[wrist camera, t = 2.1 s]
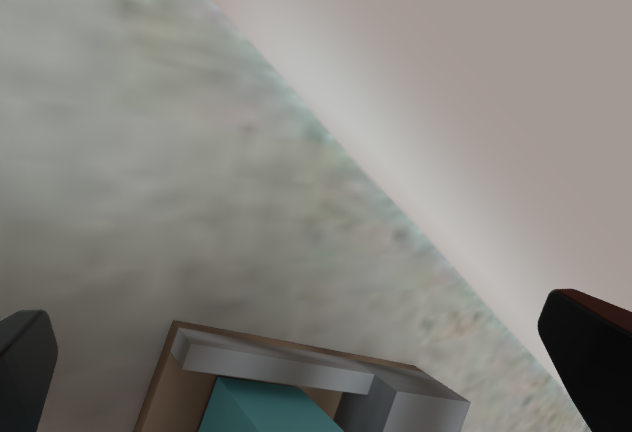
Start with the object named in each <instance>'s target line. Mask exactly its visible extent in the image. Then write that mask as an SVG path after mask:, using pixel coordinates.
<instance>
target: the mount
mask: <svg viewBox="0 0 632 432" xmlns="http://www.w3.org/2000/svg"><path fill="white" fill-rule="evenodd" d="M218 377H223V378H231V379H238V380H246V381H253V382H261V383H268V384H275V385H283V386H290V387H298V388H300V389H301V390H302V391H303V392H304V393H305V394H307V395H308V396H309V397H310V398H311V399H312V400H313V401H314V402H315V403H316V404H317V405H318V406H319V407H320V408H321V409H322V410H323V411H324V412H325V413H326V414H327V415H328V416H329V417H330V418H331V419H332V420H333V421H334V422H335V423H336V424H337V425H338V426H339V427H340V428H341V429H342V430H343V431H344V432H460V431H461V428H462V426H463V423H464V420H465V417H466V414H467V412H468V409H469V406H470V403H471V402H470V401H468V400H466V399H465V398H463V397H462V396H460V395H459V394H457V393H456V392H454V391H453V390H451V389H449V388H448V387H446V386H445V385H443V384H442V383H440V382H439V381H437V380H435V379H434V378H432V377H431V376H429V375H428V374H426V373H425V372H423V371H422V370H420V369H418V368H417V367H415V366H412V365H407V364H402V363H396V362H391V361H386V360H381V359H375V358H370V357H365V356H360V355H354V354H349V353H344V352H338V351H333V350H328V349H323V348H317V347H312V346H307V345H302V344H296V343H291V342H286V341H280V340H275V339H270V338H265V337H259V336H254V335H249V334H244V333H238V332H233V331H228V330H223V329H217V328H212V327H207V326H201V325H196V324H191V323H186V322H180V321H175V320H173V323H172V325H171V328H170V331H169V334H168V337H167V339H166V342H165V345H164V348H163V350H162V353H161V356H160V359H159V362H158V364H157V367H156V370H155V373H154V376H153V378H152V381H151V384H150V387H149V390H148V392H147V395H146V398H145V401H144V404H143V406H142V409H141V412H140V415H139V417H138V420H137V423H136V426H135V429H134V431H133V432H198V431H199V428H200V425H201V422H202V420H203V417H204V414H205V411H206V408H207V406H208V403H209V400H210V397H211V394H212V392H213V389H214V386H215V383H216V380H217V378H218Z"/></svg>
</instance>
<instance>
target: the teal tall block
mask: <svg viewBox="0 0 632 432" xmlns="http://www.w3.org/2000/svg"><path fill="white" fill-rule="evenodd" d="M198 432H344V431H343V430H342V429H341V428H340V427H339V426H338V425H337V424H336V423H335V422H334V421H333V420H332V419H331V418H330V417H329V416H328V415H327V414H326V413H325V412H324V411H323V410H322V409H321V408H320V407H319V406H318V405H317V404H316V403H315V402H314V401H313V400H312V399H311V398H310V397H309V396H308V395H307V394H305V393H304V392H303V391H302V390H301V389H300V388H298V387H290V386H283V385H275V384H268V383H261V382H253V381H246V380H238V379H231V378H223V377H218V378H217V380H216V383H215V386H214V389H213V392H212V394H211V397H210V400H209V403H208V406H207V408H206V411H205V414H204V417H203V420H202V422H201V425H200V428H199V431H198Z"/></svg>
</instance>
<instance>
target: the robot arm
mask: <svg viewBox="0 0 632 432" xmlns="http://www.w3.org/2000/svg"><path fill="white" fill-rule="evenodd" d="M538 332H539V335H540V337H541V340H542V342H543V344H544V346H545V348H546V350H547V352H548V354H549V356H550V358H551V360H552V362H553V364H554V366H555V368H556V370H557V372H558V374H559V376H560V378H561V379H562V382H563V384H564V386H565V388H566V390H567V392H568V394H569V395H570V397H571V399H572V401H573V402H574V404H575V406H576V407H577V409H578V411H579V412H580V414H581V415H582V417H583V419H584V420H585V422H586V423H587V425H588V426H589V428H590V430H591V431H592V432H632V312H630V311H628V310H625V309H623V308H620V307H618V306H615V305H613V304H610V303H608V302H605V301H603V300H600V299H598V298H595V297H592V296H590V295H587V294H585V293H583V292H580V291H577V290H575V289H555V290H553V291H551V292H550V293H549V295H548V297H547V300H546V302H545V305H544V307H543V310H542V312H541V315H540V317H539V320H538ZM57 355H58V347H57V342H56V339H55V335H54V332H53V329H52V325H51V322H50V319H49V316H48V314H47V312H46V311H44V310H21V311H18V312H16V313H14V314H12V315H11V316H9V317H7V318H5V319H4V320H2V321H0V432H36V430H37V427H38V424H39V421H40V417H41V414H42V410H43V407H44V403H45V400H46V396H47V393H48V389H49V386H50V382H51V379H52V375H53V372H54V368H55V365H56V361H57Z"/></svg>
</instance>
